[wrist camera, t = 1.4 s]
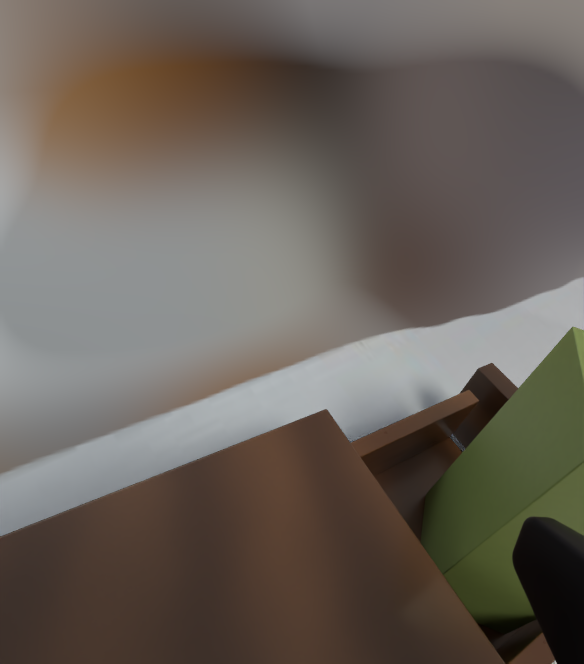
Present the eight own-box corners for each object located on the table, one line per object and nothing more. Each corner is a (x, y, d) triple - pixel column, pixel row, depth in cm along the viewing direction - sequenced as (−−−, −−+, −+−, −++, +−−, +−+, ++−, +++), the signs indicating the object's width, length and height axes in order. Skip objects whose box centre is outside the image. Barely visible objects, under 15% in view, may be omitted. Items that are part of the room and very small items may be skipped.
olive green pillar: (505, 634, 20) (761, 511, 11) (414, 596, 20) (598, 449, 12) (502, 524, 23) (695, 370, 15) (425, 494, 24) (572, 325, 15)
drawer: (466, 407, 30) (505, 356, 26) (626, 582, 24) (704, 545, 20) (263, 502, 23) (282, 450, 19) (416, 790, 16) (484, 786, 13)
